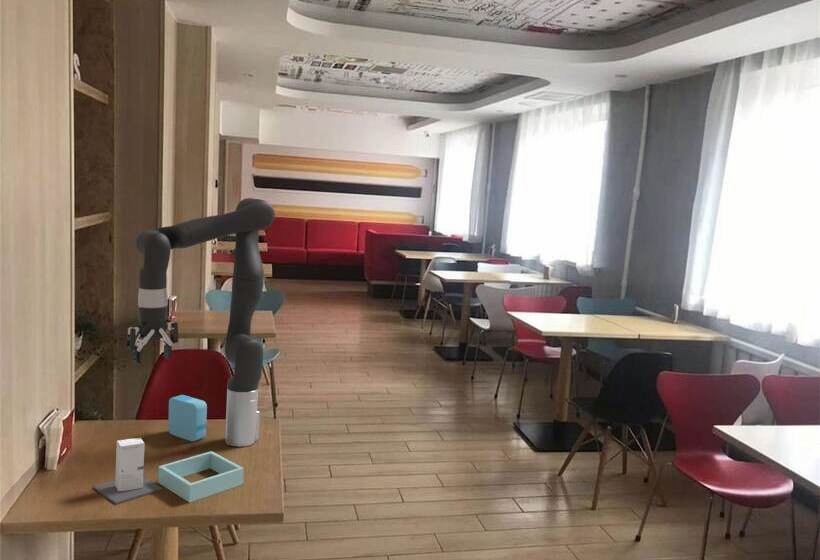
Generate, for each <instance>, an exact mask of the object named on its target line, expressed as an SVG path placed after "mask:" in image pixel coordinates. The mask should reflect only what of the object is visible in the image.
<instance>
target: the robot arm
mask: <svg viewBox="0 0 820 560" xmlns="http://www.w3.org/2000/svg"><path fill="white" fill-rule="evenodd" d="M275 217H276V215H275V209H274V207H273V206H272V204H271V203H270V202H268V201H266V200H265V199H260V198H254V197H253V198H252V197H248V198H244V199H242V200H240V201H239V203H237V205H236V208H235V210H234V211H230V212H228V213H222V214H218V215H217V214H216V215H210V216H203V217H197V218H193V219H190V220H186V221H184V222H183V221H182V222H181V223H180V222H179V223H177V224H174V225H170V226H169V225H168V226H164V227H162V226H161V227H157V228H156V227H155V228H152V229H148V230H145V231H143V232H141V233H140V234H139V235H138V236H137V238H136V240H135V247H136V249H137V250H138V252H139V253H140V254H141V255H144V257H143V258H144V259H143V267H141V268H140V269H139V272H138V273H139V274H138V275H139V276H138V279H139V280H138V281H139V283H138V286H139V287H138V294H137V295H138V296H137V299H138V300H137V303H138V304H137V310H138V311H137V313H138V316H137V317H138V319H137V321H138V325H137V326H136V327H133V326H128V327H127V328H126V341H125V348H126V349H129V351H133V353H132V355H133V362H134V364H136V365H142V364H143V363H142V362H143V361H142V360H143V359H142V358H143V353H142V349H143V348H144V346H145V345H147V343H148V342H152V341H159V340H161V341H162V343H163V358H164V359H166V360H170V358H171V357H172V355H173V354H172V353H173V352H172V350H173V345H174V344H177V343H179V325H178V324H179V323H178V322H176V321H173V320H170V321H169V322H168V303H169V302H168V297H169V296H168V290H167V285H168V284H167V281H168V279H167V278H168V276H167V271H168V268H169V263H170V259H171V250H173V249H187V248H191V247H194V246H197V245H200V244H204V243H206V242H209V241H213V240H215V239H219V238H223V237H227V236H230V235H234V234H235V248H234V258H233V260H234V261H233V270H232V271H233V272H232V280H231V298H230V300H231V301H230V310H229V321H228V325H227V326H228V327H227V330H226V331H227V332H226V337H225V342H224V355H225V357H226V360H228V362H230V363H232V364H234V371H233V376H230V377H229V378H228V379H227V384H226V388H227V390H226V415H225V434H224V436H225V437H224V438H225V440H224V442H226V443H225V444H226V445H228V446H230V445H231V447H236V446H237V447H240V448H241V447H242V446H243V447H248V446H252V445H254V444H255V443H256V442H259V433H260V431H259V430H260V415H261V414H260V411H259V410H258V401H259V397H258V396H259V395H258V394H259V383H260V381H261V378H262V374H263V373H262V372H263V363H264V349H263V346H262V343H261V342H259V341H258V340H257V339H254V338H252V337H251V331H252V329H251V328H252V327H251V325H252V320H253V315H254V313H255V312H256V310H257V308H258V305H259V304H260V302H261V300H262V297H263V291H264V282H265V281H264V279H265V275H264V272H265V271H264V266H263V262H262V259H261V253H260V249H259V237H260V235H259V234H260V231H262V230H265V229H267V228H269V227H270V226H272V224H273V222H274V220H275ZM167 330H169V335H168V334H167V333H166V332H167ZM138 333H139V334H138ZM137 335H138V336H137ZM136 336H137V338H136ZM255 441H256V442H255ZM243 447H242V448H243Z"/></svg>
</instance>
